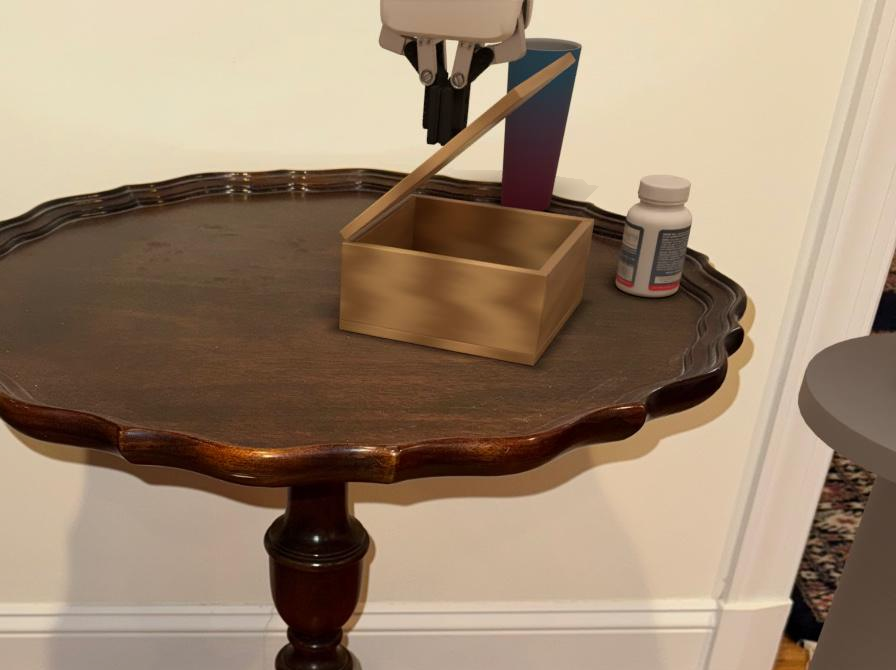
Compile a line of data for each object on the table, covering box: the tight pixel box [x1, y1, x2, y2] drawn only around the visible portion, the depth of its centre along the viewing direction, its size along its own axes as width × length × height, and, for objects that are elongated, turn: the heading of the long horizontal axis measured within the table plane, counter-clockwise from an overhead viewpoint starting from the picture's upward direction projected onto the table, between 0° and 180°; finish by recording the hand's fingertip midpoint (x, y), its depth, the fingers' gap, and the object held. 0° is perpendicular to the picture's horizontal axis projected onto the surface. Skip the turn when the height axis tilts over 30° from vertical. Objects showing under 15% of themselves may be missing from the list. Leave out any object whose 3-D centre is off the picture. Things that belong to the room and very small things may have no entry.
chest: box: [338, 193, 595, 367], centre depth 89 cm, size 16×15×7 cm
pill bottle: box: [615, 174, 693, 298], centre depth 94 cm, size 5×5×9 cm
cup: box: [500, 37, 583, 212], centre depth 111 cm, size 7×7×15 cm
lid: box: [339, 52, 575, 241], centre depth 84 cm, size 16×15×1 cm
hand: (443, 141), depth 84 cm, fingers closed
